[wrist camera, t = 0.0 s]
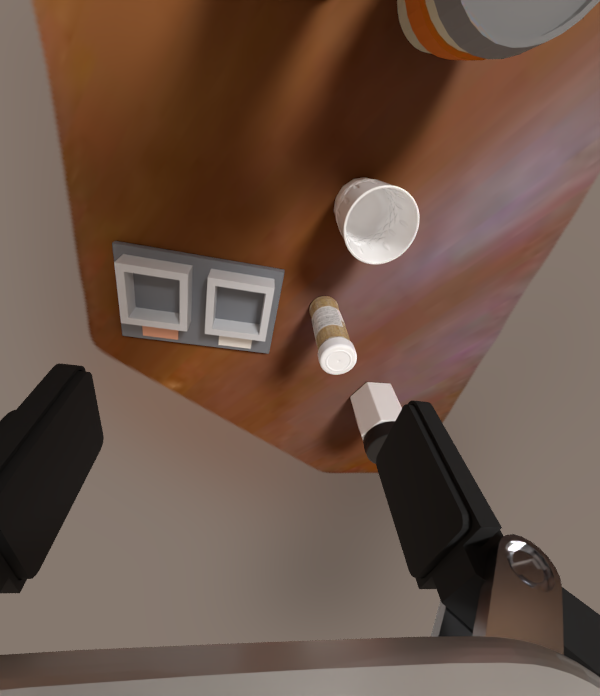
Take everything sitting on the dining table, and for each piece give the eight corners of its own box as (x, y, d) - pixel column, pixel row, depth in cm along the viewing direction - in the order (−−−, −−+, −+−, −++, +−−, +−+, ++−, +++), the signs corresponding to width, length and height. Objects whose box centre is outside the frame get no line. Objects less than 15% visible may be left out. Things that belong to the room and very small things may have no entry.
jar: (345, 388, 60) (360, 441, 50) (388, 374, 59) (412, 425, 49) (357, 419, 65) (373, 472, 55) (397, 406, 64) (421, 458, 54)
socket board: (115, 240, 42) (102, 251, 39) (284, 269, 46) (285, 281, 43) (124, 332, 50) (114, 347, 46) (268, 350, 54) (268, 365, 50)
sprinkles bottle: (335, 321, 51) (353, 376, 40) (306, 320, 51) (317, 375, 40) (340, 295, 49) (361, 346, 38) (310, 293, 48) (322, 344, 37)
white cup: (401, 205, 42) (434, 226, 34) (355, 249, 45) (374, 278, 37) (364, 156, 39) (390, 166, 30) (316, 207, 41) (327, 228, 33)
